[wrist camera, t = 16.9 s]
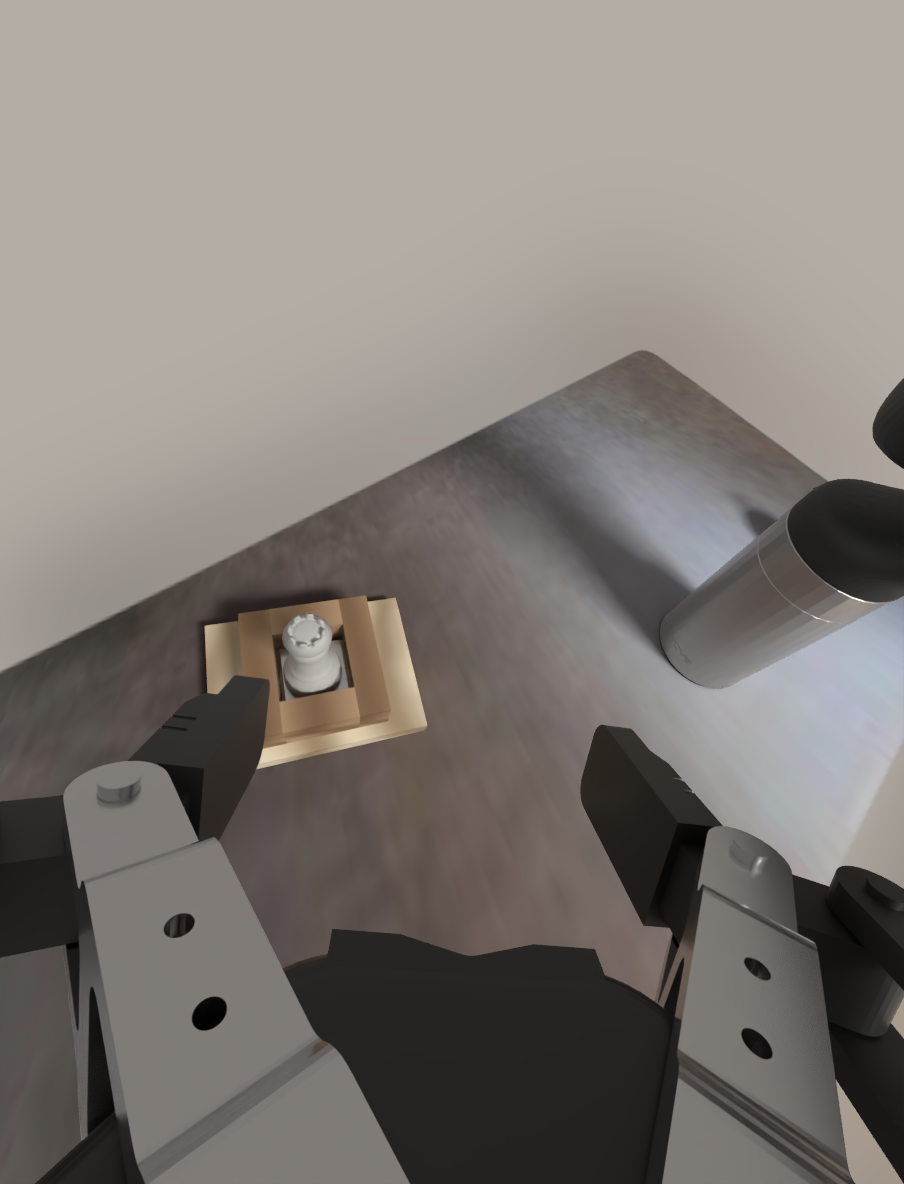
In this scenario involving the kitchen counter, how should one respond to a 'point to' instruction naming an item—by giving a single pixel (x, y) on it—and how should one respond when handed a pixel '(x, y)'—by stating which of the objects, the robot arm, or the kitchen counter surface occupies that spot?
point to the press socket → (332, 719)
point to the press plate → (343, 680)
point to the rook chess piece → (310, 656)
